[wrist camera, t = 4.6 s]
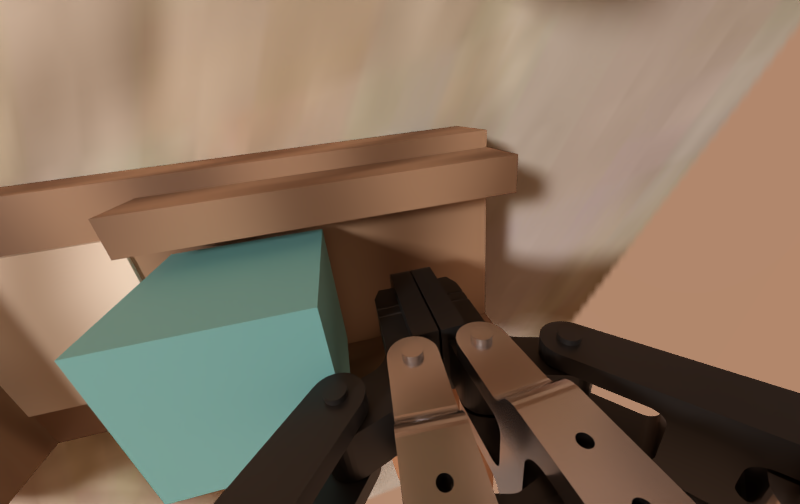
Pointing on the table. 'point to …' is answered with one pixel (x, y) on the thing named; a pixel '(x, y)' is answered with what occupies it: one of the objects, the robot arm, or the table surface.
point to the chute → (222, 225)
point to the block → (211, 358)
